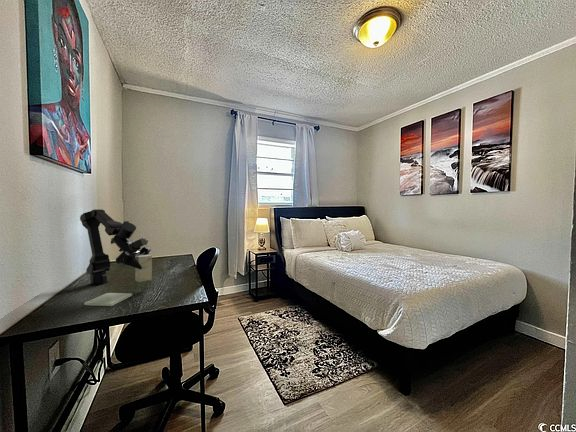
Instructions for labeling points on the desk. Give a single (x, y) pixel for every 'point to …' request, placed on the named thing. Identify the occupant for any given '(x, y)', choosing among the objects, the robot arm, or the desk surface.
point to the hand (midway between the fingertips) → (146, 266)
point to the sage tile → (108, 299)
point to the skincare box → (144, 268)
